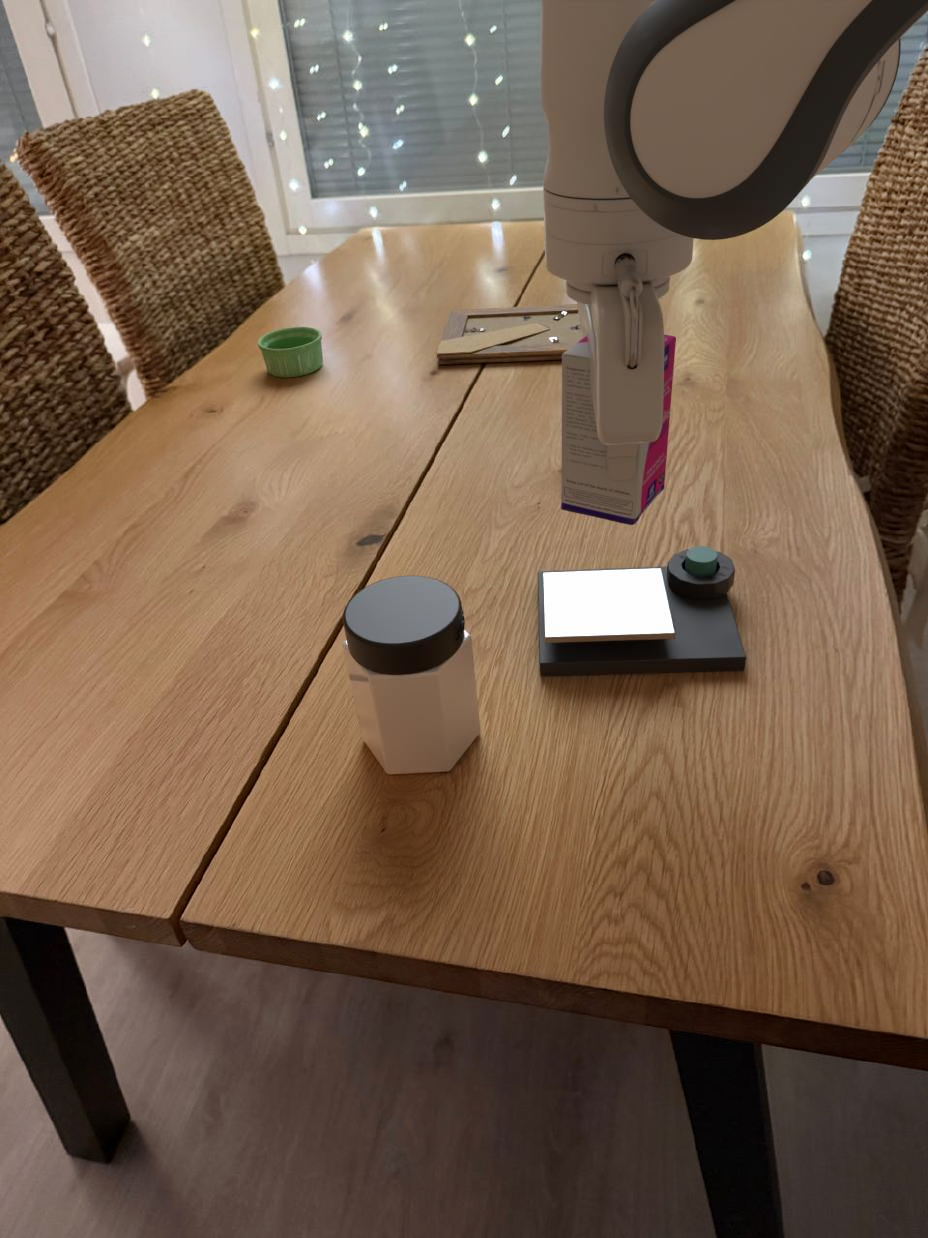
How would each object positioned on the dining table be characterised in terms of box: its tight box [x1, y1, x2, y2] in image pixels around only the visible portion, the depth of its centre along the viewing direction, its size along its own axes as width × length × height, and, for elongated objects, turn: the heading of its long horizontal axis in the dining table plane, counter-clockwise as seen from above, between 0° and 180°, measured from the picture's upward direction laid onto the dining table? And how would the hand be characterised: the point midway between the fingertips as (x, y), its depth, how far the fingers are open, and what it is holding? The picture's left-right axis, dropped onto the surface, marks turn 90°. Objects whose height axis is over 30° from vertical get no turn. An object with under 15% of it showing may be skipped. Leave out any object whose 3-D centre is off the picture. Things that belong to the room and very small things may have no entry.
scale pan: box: [543, 568, 675, 643], centre depth 75 cm, size 10×9×1 cm
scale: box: [537, 548, 747, 677], centre depth 77 cm, size 17×13×3 cm
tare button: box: [685, 545, 718, 576], centre depth 79 cm, size 3×3×2 cm
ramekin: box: [257, 326, 324, 378], centre depth 131 cm, size 9×9×4 cm
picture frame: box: [436, 303, 583, 365], centre depth 133 cm, size 19×2×24 cm
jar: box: [342, 575, 481, 775], centre depth 66 cm, size 9×8×12 cm
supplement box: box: [560, 334, 677, 526], centre depth 62 cm, size 6×6×12 cm
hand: (614, 444), depth 63 cm, fingers closed on supplement box, 7 cm apart
